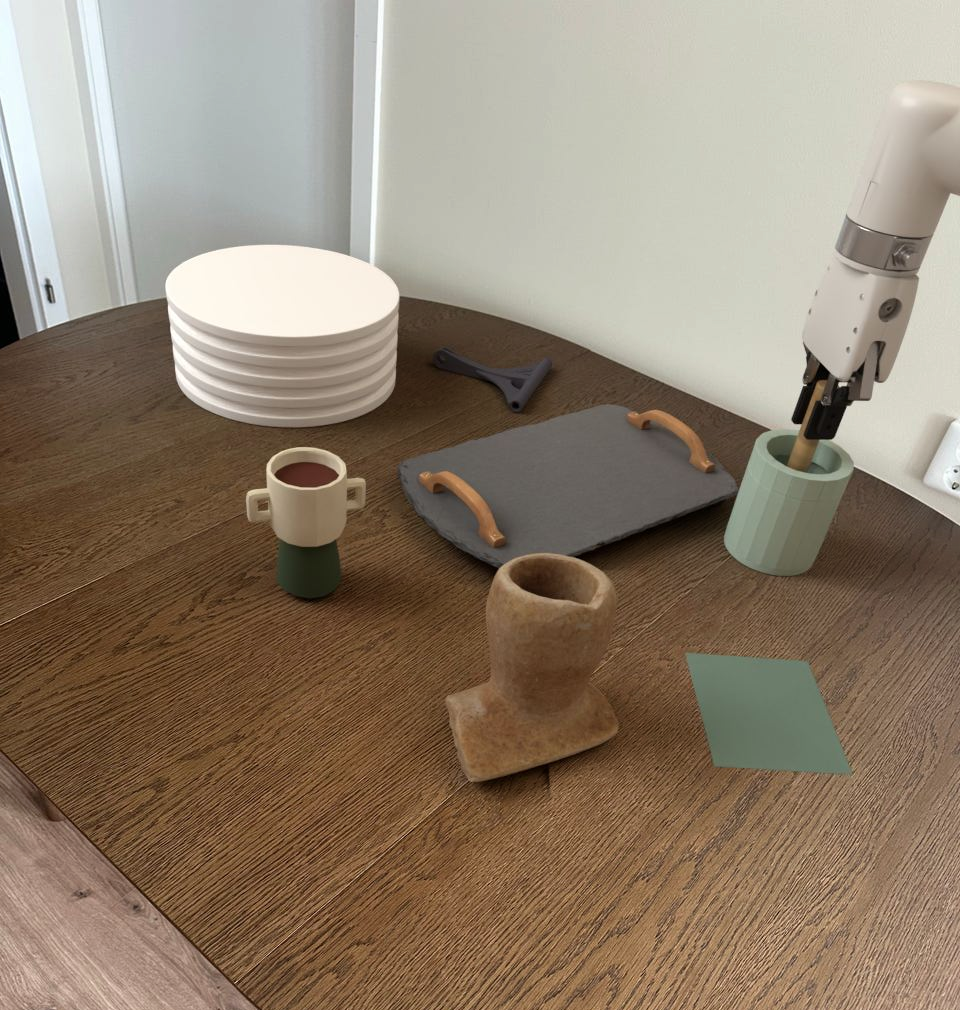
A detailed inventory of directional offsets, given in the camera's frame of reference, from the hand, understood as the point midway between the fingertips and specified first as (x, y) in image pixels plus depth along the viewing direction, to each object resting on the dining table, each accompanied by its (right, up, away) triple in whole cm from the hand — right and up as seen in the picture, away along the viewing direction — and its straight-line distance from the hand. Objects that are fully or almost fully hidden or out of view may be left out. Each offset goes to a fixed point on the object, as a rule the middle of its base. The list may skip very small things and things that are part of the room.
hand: (812, 429), depth 95 cm
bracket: (-33, +14, +33) cm, 49 cm away
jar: (-2, -11, +9) cm, 15 cm away
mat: (-8, -28, -11) cm, 31 cm away
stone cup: (-30, -29, -14) cm, 44 cm away
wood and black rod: (-1, -8, +7) cm, 11 cm away
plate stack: (-59, +13, +28) cm, 66 cm away
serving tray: (-24, -5, +13) cm, 27 cm away
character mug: (-50, -16, -3) cm, 53 cm away
